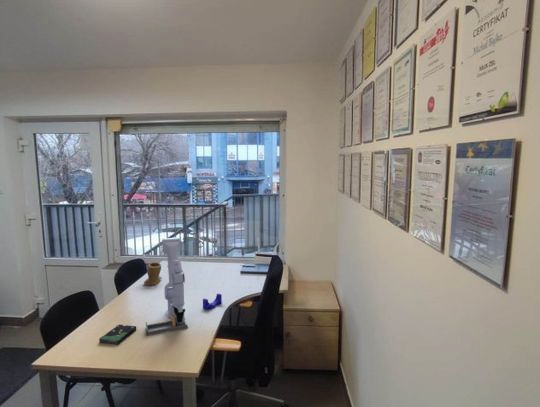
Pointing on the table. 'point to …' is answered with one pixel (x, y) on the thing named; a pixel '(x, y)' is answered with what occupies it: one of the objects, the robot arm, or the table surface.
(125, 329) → the disk drive
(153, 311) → the table surface
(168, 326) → the tray
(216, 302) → the cable clip
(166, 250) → the robot arm
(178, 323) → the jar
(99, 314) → the table surface
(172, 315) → the bar
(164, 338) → the table surface
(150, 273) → the brown boot
